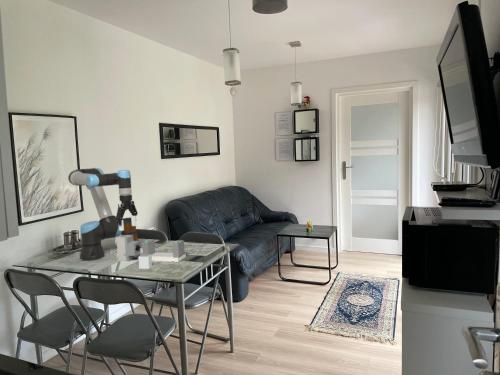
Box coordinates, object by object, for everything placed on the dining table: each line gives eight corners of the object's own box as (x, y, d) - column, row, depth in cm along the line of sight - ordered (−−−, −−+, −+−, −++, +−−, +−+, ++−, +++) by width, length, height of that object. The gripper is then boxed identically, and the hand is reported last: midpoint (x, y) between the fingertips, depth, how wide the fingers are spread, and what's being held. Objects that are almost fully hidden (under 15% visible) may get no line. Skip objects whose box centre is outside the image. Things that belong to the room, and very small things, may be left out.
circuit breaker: (137, 261, 238) (135, 237, 236) (116, 261, 241) (115, 237, 239) (143, 258, 245) (141, 235, 244) (123, 257, 248) (121, 235, 247)
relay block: (139, 268, 223) (138, 256, 222) (142, 266, 228) (141, 253, 227) (149, 268, 222) (148, 255, 222) (152, 266, 227) (151, 253, 227)
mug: (126, 242, 292) (124, 216, 290) (144, 241, 292) (143, 215, 290) (116, 248, 273) (114, 221, 271) (136, 247, 272) (134, 220, 270)
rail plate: (142, 260, 241) (140, 241, 239) (151, 255, 251) (149, 237, 250) (178, 261, 234) (176, 242, 233) (185, 256, 244) (184, 238, 243)
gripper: (118, 197, 226) (121, 232, 228) (141, 192, 250) (143, 224, 252) (107, 197, 228) (110, 232, 230) (131, 192, 252) (133, 224, 254)
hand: (128, 228), depth 241 cm, fingers open, 13 cm apart
